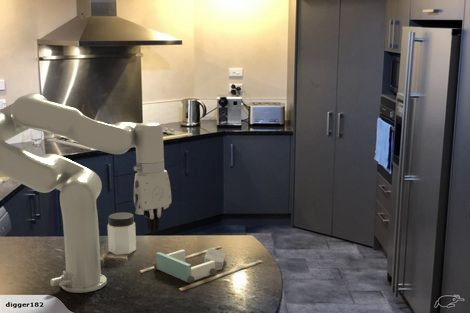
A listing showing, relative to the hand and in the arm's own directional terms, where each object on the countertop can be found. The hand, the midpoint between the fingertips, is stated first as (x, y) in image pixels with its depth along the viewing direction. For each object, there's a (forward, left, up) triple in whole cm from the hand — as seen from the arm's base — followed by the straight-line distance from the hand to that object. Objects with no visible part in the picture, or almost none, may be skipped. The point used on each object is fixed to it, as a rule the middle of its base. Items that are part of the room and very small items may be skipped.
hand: (153, 230), depth 176 cm
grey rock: (+22, -1, -16) cm, 27 cm away
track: (+18, 0, -16) cm, 24 cm away
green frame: (+11, 0, -15) cm, 19 cm away
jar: (+9, +30, -16) cm, 35 cm away
